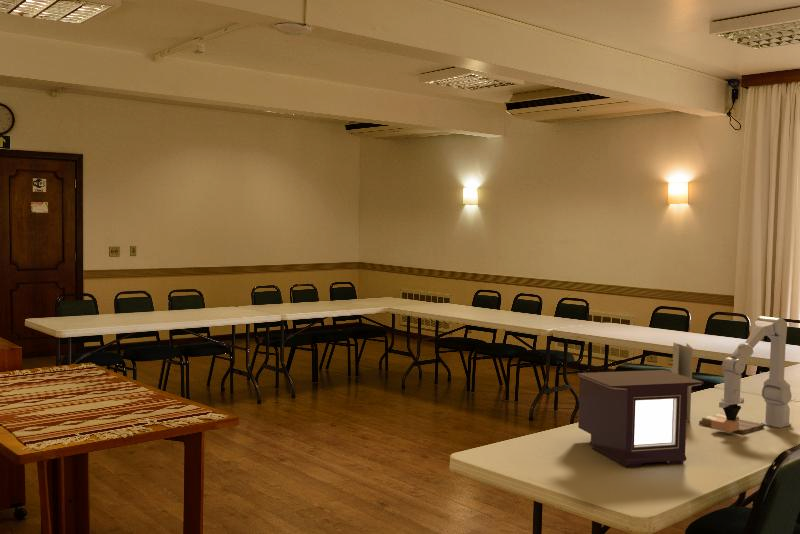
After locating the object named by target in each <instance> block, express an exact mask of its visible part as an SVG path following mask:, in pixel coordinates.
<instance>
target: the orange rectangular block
mask: <svg viewBox="0 0 800 534" xmlns="http://www.w3.org/2000/svg"><path fill="white" fill-rule="evenodd" d="M710 428H711V429H715V430H719V431H724V432H727V433H734V432H733V431H737V430H739V422H736V421H732V420H727V419H723V418H718V419H714V420H712V421H711V427H710Z"/></svg>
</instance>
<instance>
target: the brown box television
mask: <svg viewBox="0 0 800 534" xmlns="http://www.w3.org/2000/svg"><path fill="white" fill-rule="evenodd" d="M576 375H577V376H579V385H578V386H579V389H578V390H579V392H578V394H579V395H578V423H577V424H578V426H577V427H578V429H580V430H581V431H584V432H586V433H588V434H589V435H590V441H589V445H590V447H591V450H593V449H594V450H593V451H595V452H597V453H599V454H601V455H602V456H604V457H606V458H607V459H609V460H611V461H614V462H615V463H617V464H619V466H620V465H621V466H622V467H624V468H626V469H632V468H633V469H634V468H635V469H636V468H642V464H649V463H664V464H667V465H668V466H673V465H684V462H685V461H687V456H686V446H687V445H686V443H687V442H686V440H687V439H686V438H687V421H686V418H687V391H688V387H691V388H692V387H695V386H696V387H697V386H701V385H703V384H704V383H705V382H704V381H701V380H698V379H695V378H689V377H686V376H682V375H679V374H676V373H673V372H672V371H669V370H666V369H656V370H652V369H651V370H627V371H625V370H624V371H601V372H600V371H597V372H577V373H576Z"/></svg>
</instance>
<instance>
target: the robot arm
mask: <svg viewBox="0 0 800 534" xmlns="http://www.w3.org/2000/svg"><path fill="white" fill-rule="evenodd" d="M787 332H788V322H787V321H786V320H785V319H784V318H782V317H773V316H772V317H770V316H766V315H759V316H758V317H757V318H756V321H755V322H754V329H753V330H752V331H751V333H750V335H749V336H748V338H747V339H746V341H745V342H744V343H742V342H741V343H740V344H738V346H737V347H736V348H735V350H734V351H733V352H732V353H731V354H730V356H728V357H726V358H724V359H723V361H722V364H721V369H722V372H723V373H722V374H723V376H724V381H723V382H724V383H723V384H724V385H723V386H724V388H723V397H722V398H721V399H720V401H719V403H718V408H721V409H723V411H724V414H725V415H726V419H727V420H732V421H735V420H736V417H737V416H738V414H739V412H740V411H741V409H742V406H741V405H740V404H744V403H745V398H744V397H741V383H742V381H741V379H742V374H743V372H744V371H745V369H746V365H747V361H749V359H750V358H751V356H752V355H753V354H754V348H755V347H756V345H758V343H759V342H760V341H761V340H763V338H765V336H766V337H767V338H769V340H770V352H769V373H768V374H769V377H768V379H766V380H765V381H764V382H763V386H762V389H761V397H762V398H763V400H764V402H765V421H762V422H760V424H764V426H769V427H773V428H779V429H781V428H786V427H788V426H791V425H792V423H790V413H791V411H790V410H791V408H790V406H789V403H790V401H792V400H791V399H792V392H791V385H790V384H789V383H788V382H787V380H786V379H785V364H786V347H787V346H786V344H787V334H788V333H787Z"/></svg>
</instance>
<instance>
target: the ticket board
mask: <svg viewBox="0 0 800 534" xmlns="http://www.w3.org/2000/svg"><path fill="white" fill-rule="evenodd" d="M718 418H723V419H726V415H725V412H724V413H723V412H720V413H715V414H712V415H707V416H704V417H702V418H701V419H700V420H699V421H698V424H699V425H700V424H701V426H704V425H705V427H708V426H709V428H711V421H712V420H714V419H718ZM735 421H736V422H739V430H737V431H733V432H732V433H735V434H740V435H746V434H748V433H752V432H755V431H758V430H762V429H764V427H765V425H764V424H761V423H759V422H754V421H750V420H746V419H745V420H744V419H740V417H739V416H738V415H737V417H736V420H735Z"/></svg>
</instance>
